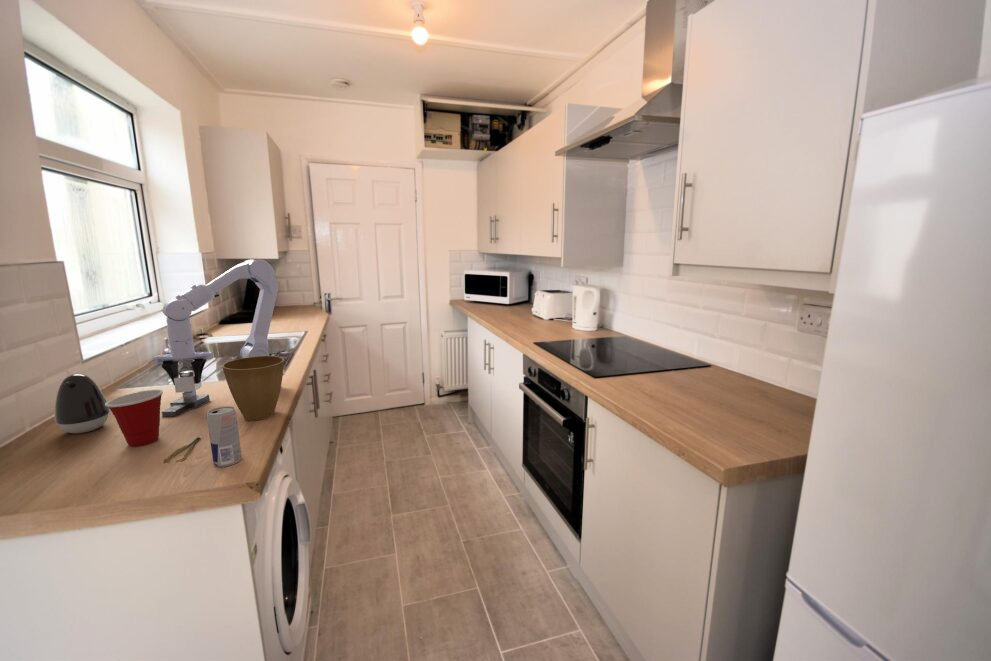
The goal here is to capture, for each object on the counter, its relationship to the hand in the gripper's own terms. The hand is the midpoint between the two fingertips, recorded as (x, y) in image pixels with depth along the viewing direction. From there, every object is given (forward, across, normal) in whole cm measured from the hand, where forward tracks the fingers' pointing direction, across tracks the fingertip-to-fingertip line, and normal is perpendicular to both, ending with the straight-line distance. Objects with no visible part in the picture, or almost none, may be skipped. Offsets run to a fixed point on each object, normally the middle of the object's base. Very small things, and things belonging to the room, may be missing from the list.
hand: (187, 383), depth 126 cm
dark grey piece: (+7, +1, +3) cm, 7 cm away
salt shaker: (+7, +13, -35) cm, 38 cm away
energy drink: (+7, -23, +44) cm, 50 cm away
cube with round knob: (+2, 0, 0) cm, 2 cm away
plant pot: (+7, -23, +16) cm, 29 cm away
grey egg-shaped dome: (+7, +19, +13) cm, 24 cm away
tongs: (+8, -11, +35) cm, 37 cm away
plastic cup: (+7, +1, +26) cm, 27 cm away
